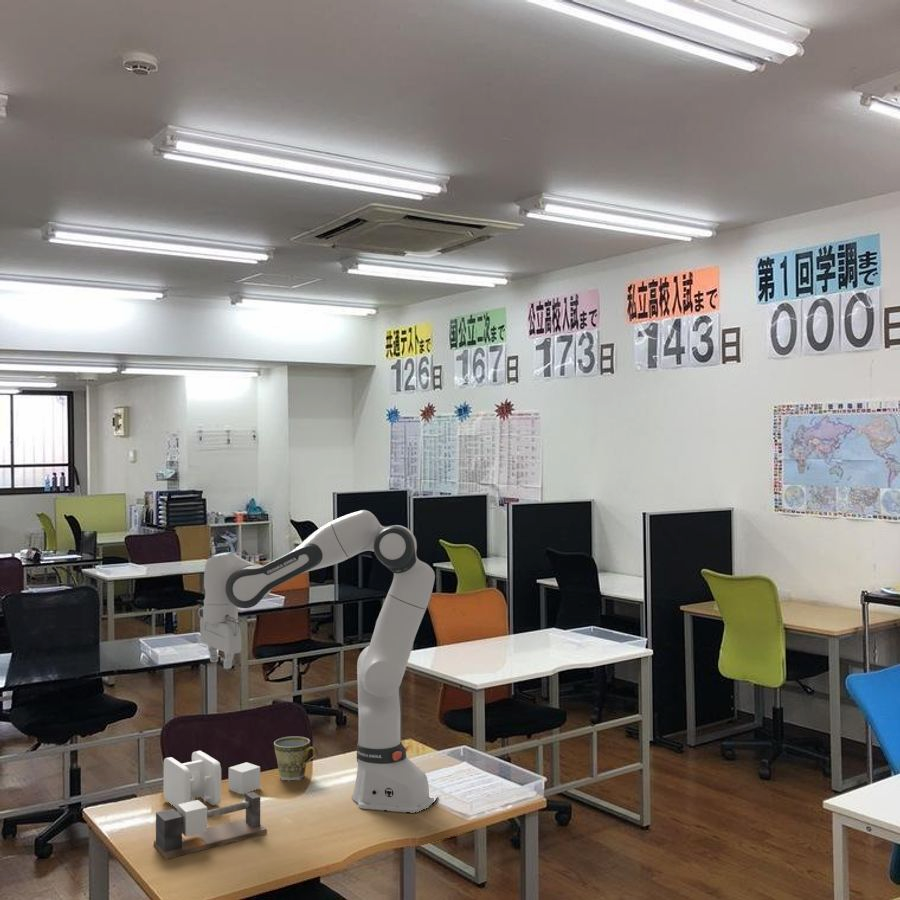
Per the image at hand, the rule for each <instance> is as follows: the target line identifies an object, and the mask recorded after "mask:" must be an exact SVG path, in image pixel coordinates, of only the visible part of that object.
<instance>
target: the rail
mask: <svg viewBox="0 0 900 900" xmlns="http://www.w3.org/2000/svg"><path fill="white" fill-rule="evenodd" d="M243 810H245V818H243V819H238V820H233V821H230V822H227V823H221V824H218V825H214V826H209V827H207V832H203V833H199V834H195V835H191V836H187V837H186V836H185V835H183V834H182V824H183V816H181V815H180V814H178V813H177V810H175V809H174V808H170V809H165V810H161V811H157V812H155V840H154V841H153V846H154V848H156V849H157V850H158V851H159V852H160V854H163V855H164V856H163V855H162V856H163V857H164V858H165V859H166V858H169V859H171V858H175V857H176V858H177V857H180V856H183V855H187V854H192V853H195V852H199V851H203V850H207V849H211V848H214V846H215V847H218V845H219V846H222V845H221V844H223V845H226V844H225V843H227V844H229V842H231V843H234V842H233V841H235V842H238V841H237V840H239V841H242V840H246V839H249V837H250V838H254V837H258V836H261V835H260V834H262V835H265V834H264V833H266V834H267V831H268V830H267V828H266V827H265V826H264V825H262V824H261V796H260V795H258V794H257V793H256V792H255V791H252V792H249V793H246V794H245V801H243V802H239V803H235V804H231V805H230V804H229V805H227V806H221V807H217V808H211V809H207V819H208V818H209V819H210V818H213V817H217V816H218V817H219V816H222V815H226V814H231V813H235V812H239V811H243ZM257 835H258V836H257ZM245 838H246V839H245ZM210 847H211V848H210Z"/></svg>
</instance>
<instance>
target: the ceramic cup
mask: <svg viewBox="0 0 900 900" xmlns="http://www.w3.org/2000/svg"><path fill="white" fill-rule="evenodd" d="M310 745H311V740H310V739H309V738H307V737H304V736H285V737H281V738H278V739H276V740H274V742H273V747H274V753H275V758H276V761H277V763H276V764H277V767H278V774H279V778H280V780H282V779H283V780H282V781H284V780H297V781H300V780H299V779H301V778H302V779H304V778H305V773H306V767H307V764H308V763H309V762H310V761H312V759H314V758H315V757H316V756H317V754H318V752H317V749H316V747H315V746H310ZM310 750H313V751H314V755H313V756H312V757H310V758H309V759H308V756H309V751H310ZM303 777H304V778H303ZM302 779H301V780H302Z"/></svg>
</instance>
